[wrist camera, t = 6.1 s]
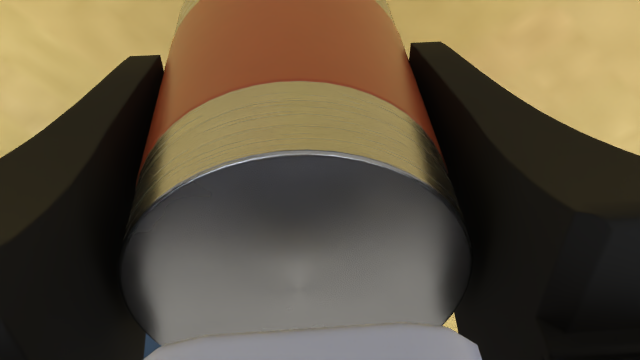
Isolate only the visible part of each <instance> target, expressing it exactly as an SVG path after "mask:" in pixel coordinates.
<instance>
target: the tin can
mask: <svg viewBox="0 0 640 360" xmlns="http://www.w3.org/2000/svg"><path fill="white" fill-rule="evenodd" d="M472 270H473V248H472V241H471V237H470V235H469V232H468V229H467V226H466V223H465V220H464V218H463V215H462V212H461V209H460V206H459V204H458V201H457V198H456V195H455V192H454V190H453V187H452V184H451V181H450V178H449V176H448V171H447V166H446V163H445V160H444V158H443V155H442V152H441V149H440V146H439V144H438V141H437V138H436V135H435V132H434V130H433V127H432V124H431V121H430V119H429V116H428V113H427V110H426V107H425V105H424V102H423V99H422V96H421V93H420V91H419V88H418V85H417V82H416V79H415V77H414V74H413V71H412V68H411V66H410V63H409V60H408V57H407V54H406V52H405V49H404V46H403V43H402V40H401V38H400V35H399V33H398V31H397V29H396V26H395V24H394V21H393V18H392V15H391V12H390V10H389V7H388V4H387V1H386V0H185V1H184V4H183V6H182V8H181V12H180V16H179V19H178V23H177V27H176V31H175V35H174V38H173V41H172V44H171V47H170V51H169V55H168V59H167V63H166V66H165V70H164V74H163V78H162V82H161V86H160V90H159V94H158V98H157V102H156V106H155V110H154V114H153V117H152V121H151V125H150V129H149V133H148V137H147V141H146V145H145V149H144V153H143V157H142V161H141V165H140V169H139V172H138V176H137V180H136V190H135V194H134V198H133V202H132V206H131V210H130V214H129V218H128V222H127V226H126V230H125V234H124V238H123V242H122V246H121V249H120V253H119V257H118V272H117V275H118V281H119V288H120V292H121V294H122V297H123V300H124V303H125V305H126V307H127V309H128V311H129V312H130V314H131V316H132V317H133V319H134V320H135V321H136V323H137V324H138V325H139V326H140V327H141V329H142V330H143V331H144V332H145V333H146V334H147V335H149V336H150V337H151V338H152V339H153V340H154V341H155V342H157V343H158V344H159V345H161V346H163V345H165V344H169V343H174V342H178V341H182V340H187V339H191V338H195V337H200V336H204V335H218V334H233V333H248V332H263V331H278V330H292V329H307V328H322V327H337V326H352V325H367V324H382V323H397V322H409V323H419V324H430V325H440V326H442V325H443V324H444V323H445V322H446V321H447V320H448V318H449V317H450V316H451V315H452V314H453V313H454V311H455V310H456V308H457V307H458V305H459V304H460V302H461V301H462V299H463V297H464V295H465V292H466V290H467V288H468V286H469V282H470V278H471V274H472Z"/></svg>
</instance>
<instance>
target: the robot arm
mask: <svg viewBox="0 0 640 360" xmlns="http://www.w3.org/2000/svg"><path fill="white" fill-rule="evenodd" d="M409 63H410V66H411V68H412V71H413V74H414V77H415V79H416V82H417V85H418V88H419V91H420V93H421V96H422V99H423V102H424V105H425V107H426V110H427V113H428V116H429V119H430V121H431V124H432V127H433V130H434V132H435V135H436V138H437V141H438V144H439V146H440V149H441V152H442V155H443V158H444V160H445V163H446V166H447V171H448V176H449V178H450V181H451V184H452V187H453V190H454V192H455V195H456V198H457V201H458V204H459V206H460V209H461V212H462V215H463V218H464V220H465V223H466V226H467V229H468V232H469V235H470V237H471V241H472V248H473V270H472V274H471V278H470V282H469V286H468V288H467V290H466V292H465V295H464V297H463V299H462V301H461V302H460V304H459V305H458V307H457V308H456V310H455V311H454V313H455V318H456V323H457V328H458V333H459V334H458V333H457V332H455V331H453V330H452V329H450V328H447V327H445V326H440V325H430V324H419V323H409V322H397V323H382V324H367V325H352V326H337V327H322V328H307V329H292V330H278V331H263V332H248V333H233V334H218V335H204V336H200V337H195V338H191V339H187V340H182V341H178V342H174V343H169V344H165V345H163V346H161V347H159V348H157V349H156V350H155V351H153V352H152V353H151V354H150V355H148V356H147V357H146V358H144V350H145V339H146V333H145V332H144V331H143V330H142V329H141V327H140V326H139V325H138V324H137V323H136V321H135V320H134V319H133V317H132V316H131V314H130V312H129V311H128V309H127V307H126V305H125V303H124V300H123V297H122V294H121V292H120V288H119V281H118V275H117V272H118V257H119V253H120V249H121V246H122V242H123V238H124V234H125V230H126V226H127V222H128V218H129V214H130V210H131V206H132V202H133V198H134V194H135V190H136V180H137V176H138V172H139V169H140V165H141V161H142V157H143V153H144V149H145V145H146V141H147V137H148V133H149V129H150V125H151V121H152V117H153V114H154V110H155V106H156V102H157V98H158V94H159V90H160V86H161V82H162V78H163V74H164V70H163V66H162V61H161V57H160V55H150V56H130V57H128V58H127V59H126V60H124V61H123V62H122V63H121V64H120V65H119V66H117V67H116V68H115V69H114V70H113V71H112V72H111V73H110V74H109V75H107V76H106V77H105V78H104V79H103V80H102V81H101V82H100V83H99V84H98V85H96V86H95V87H94V88H93V89H92V90H91V91H90V92H89V93H87V94H86V95H85V96H84V97H83V98H82V99H81V100H80V101H78V102H77V103H76V104H75V105H74V106H72V107H71V108H70V109H69V110H67V111H66V112H65V113H64V114H62V115H61V116H60V117H59V118H57V119H56V120H55V121H54V122H52V123H51V124H50V125H49V126H47V127H46V128H45V129H44V130H42V131H41V132H39V133H38V134H37V135H35V136H34V137H33V138H31V139H30V140H28V141H27V142H25V143H24V144H22V145H21V146H19V147H18V148H16V149H14V150H13V151H11V152H10V153H8V154H7V155H5V156H3V157H2V158H0V360H640V156H639V155H636V154H633V153H630V152H627V151H625V150H622V149H620V148H617V147H615V146H612V145H610V144H607V143H605V142H602V141H600V140H597V139H595V138H592V137H590V136H588V135H586V134H584V133H581V132H579V131H577V130H575V129H573V128H571V127H569V126H567V125H565V124H563V123H561V122H559V121H557V120H555V119H553V118H551V117H550V116H548V115H546V114H544V113H542V112H541V111H539V110H537V109H535V108H534V107H532V106H531V105H529V104H527V103H526V102H524V101H523V100H521V99H519V98H518V97H516V96H515V95H513V94H512V93H510V92H509V91H507V90H506V89H504V88H503V87H501V86H500V85H499V84H497V83H496V82H494V81H493V80H492V79H490V78H489V77H488V76H486V75H485V74H483V73H482V72H481V71H479V70H478V69H477V68H475V67H474V66H473V65H472V64H470V63H469V62H468V61H466V60H465V59H464V58H462V57H461V56H460V55H459V54H457V53H456V52H455V51H453V50H452V49H451V48H449V47H448V46H446V45H445V44H443V43H442V42H422V43H411V47H410V57H409Z"/></svg>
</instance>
